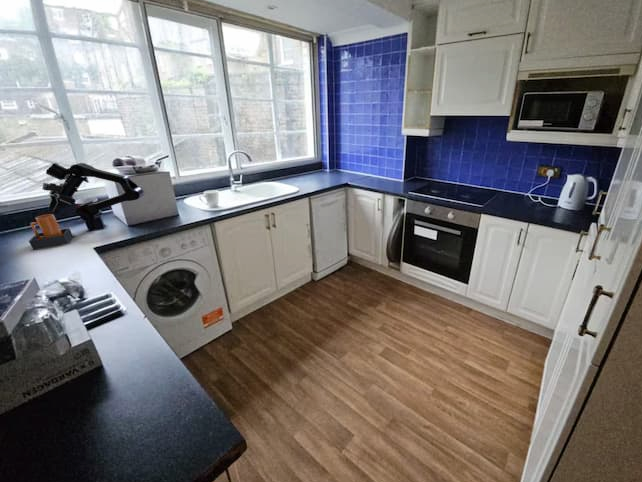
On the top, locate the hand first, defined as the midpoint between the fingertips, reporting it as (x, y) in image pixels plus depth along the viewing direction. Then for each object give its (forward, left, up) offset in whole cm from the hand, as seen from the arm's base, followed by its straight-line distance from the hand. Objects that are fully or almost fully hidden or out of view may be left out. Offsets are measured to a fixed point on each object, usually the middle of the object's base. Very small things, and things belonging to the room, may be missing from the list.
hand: (51, 211), depth 146 cm
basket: (+2, +8, -14) cm, 16 cm away
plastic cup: (-8, -27, -14) cm, 31 cm away
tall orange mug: (+2, +8, -13) cm, 16 cm away
